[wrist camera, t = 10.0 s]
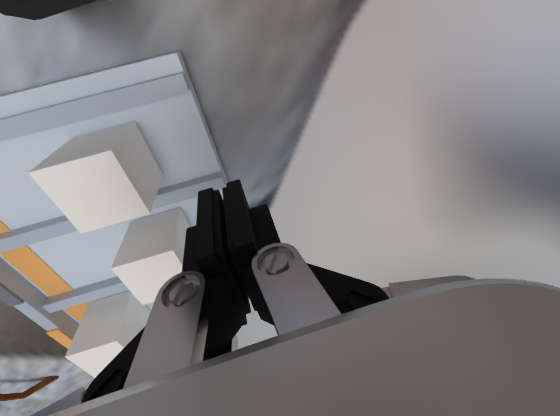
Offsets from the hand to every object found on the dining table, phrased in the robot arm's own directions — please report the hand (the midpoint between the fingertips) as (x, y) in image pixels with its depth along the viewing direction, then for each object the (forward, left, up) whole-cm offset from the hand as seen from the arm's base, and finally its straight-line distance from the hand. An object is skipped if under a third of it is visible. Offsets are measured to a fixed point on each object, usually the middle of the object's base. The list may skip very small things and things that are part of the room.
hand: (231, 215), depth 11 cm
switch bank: (+10, +7, -12) cm, 17 cm away
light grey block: (+7, 0, -10) cm, 12 cm away
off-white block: (+7, +7, -10) cm, 14 cm away
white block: (+15, +14, -10) cm, 22 cm away
